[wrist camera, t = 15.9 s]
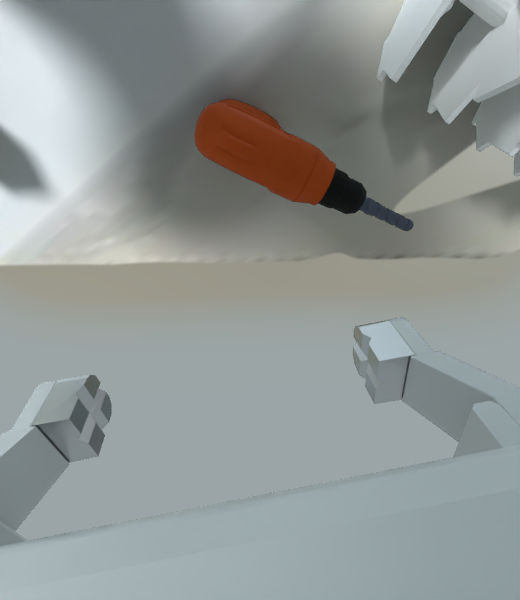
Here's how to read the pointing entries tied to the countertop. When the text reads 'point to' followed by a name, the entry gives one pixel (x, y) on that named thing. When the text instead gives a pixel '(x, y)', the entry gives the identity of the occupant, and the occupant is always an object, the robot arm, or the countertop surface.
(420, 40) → the spiral staircase
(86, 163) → the countertop surface
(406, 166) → the countertop surface
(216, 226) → the countertop surface
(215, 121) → the toy drill
